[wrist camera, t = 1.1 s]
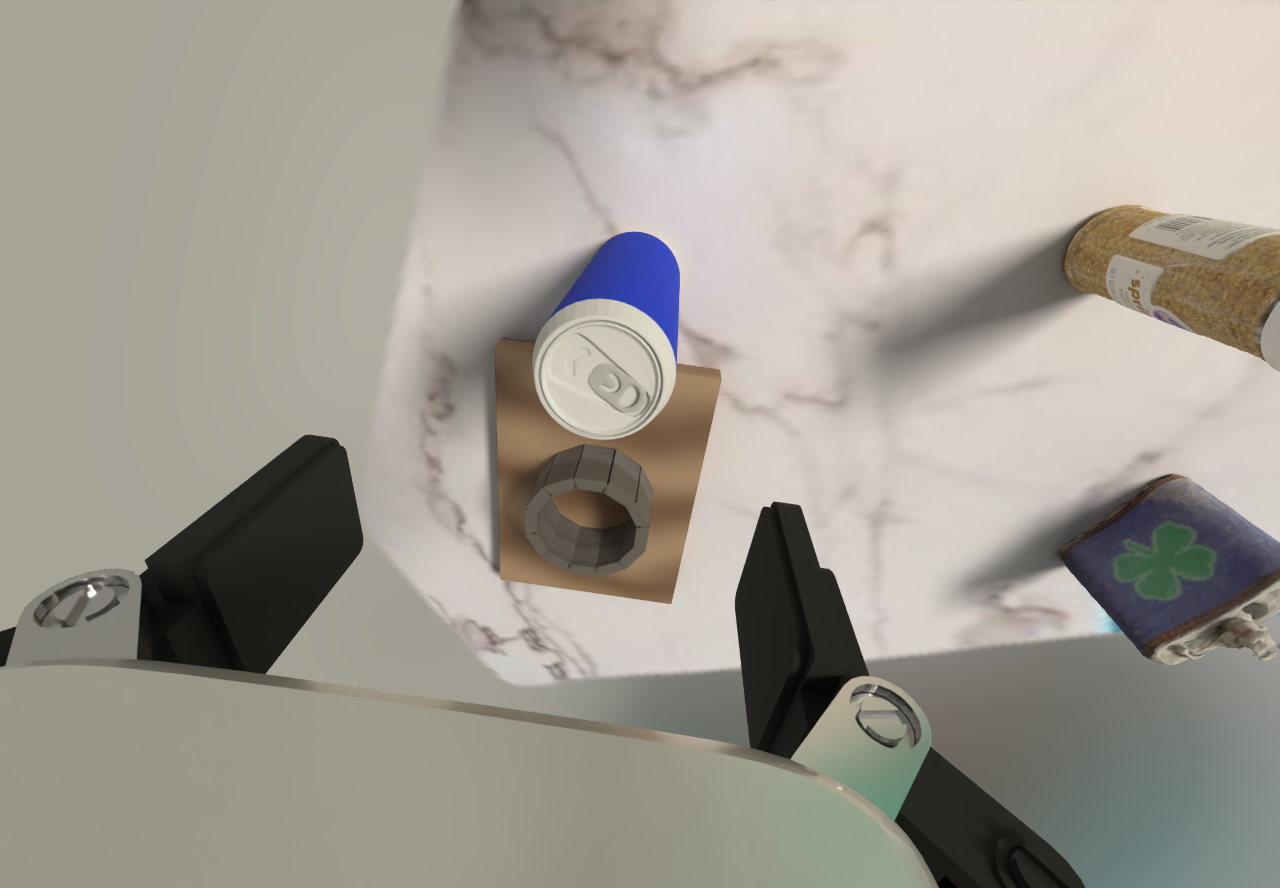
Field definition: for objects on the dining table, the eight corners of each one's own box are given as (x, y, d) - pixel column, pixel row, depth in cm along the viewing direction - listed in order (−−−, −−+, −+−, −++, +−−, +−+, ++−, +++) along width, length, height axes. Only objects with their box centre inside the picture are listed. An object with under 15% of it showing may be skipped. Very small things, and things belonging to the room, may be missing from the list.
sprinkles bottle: (1042, 282, 29) (1276, 382, 18) (1094, 193, 27) (1403, 242, 15) (1121, 299, 29) (1403, 408, 18) (1179, 212, 27) (1549, 273, 15)
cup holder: (502, 338, 33) (471, 372, 28) (720, 369, 33) (725, 409, 28) (505, 566, 44) (484, 618, 39) (671, 590, 44) (669, 645, 39)
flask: (1171, 466, 34) (1348, 589, 25) (1200, 486, 35) (1383, 613, 26) (1049, 553, 39) (1161, 685, 30) (1076, 570, 39) (1195, 703, 30)
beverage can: (576, 286, 31) (499, 395, 18) (624, 209, 29) (574, 273, 16) (646, 335, 32) (620, 470, 20) (698, 266, 30) (707, 367, 17)
